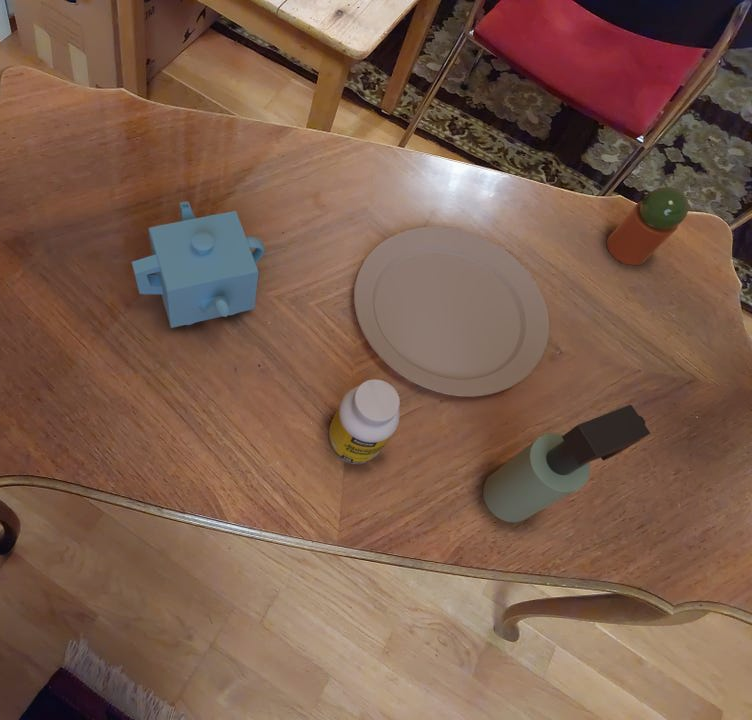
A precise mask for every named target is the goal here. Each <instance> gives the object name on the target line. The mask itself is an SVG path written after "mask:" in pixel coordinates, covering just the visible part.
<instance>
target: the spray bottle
mask: <svg viewBox="0 0 752 720" xmlns="http://www.w3.org/2000/svg"><path fill="white" fill-rule="evenodd" d="M649 435H651V431H650V430H649V428H648V427H647V426H646V420H645V418H644V417H643V416H641V415H639V413H638V412H637V411H636V409H635V408H634V406H633V405H632V404H628V405H626V406H623V407H620V408H618V409H615V410H612V411H610V412H608V413H604V414H603V415H600V416H598V417H595V418H592V419H589V420H587V421H584V422H581V423H579V424H577V425H575V426H574V427H573V428H571V429H570V430H569V431H567V432H566V433H564V434H562V433H557V432H549V433H545V434H542V435H540V436H539V437H537V438H536V439H535V440H533V441H532V442H531V443H530V444H528V445H527V446H526V447H525V448H523V449H522V450H520V451H519V452H518V453H517V454H516V455H514V456H513V457H512V458H511V459H510V460H508V461H507V462H505V463H504V464H503V465H502V466H500V467H498V469H497V470H495V471H494V472H493V473H491V474H490V475H489V476H488V477H487V478H486V479H485V482H484V483H483V488H482V497H483V501H484V503H485V505H486V507H487V509H488V510H489V511H490V513H491V514H492V515H494V517H496V518H498V519H499V520H501V521H504V522H507V523H520V522H523V521H524V520H526V519H528V518H530V517H532V516H534V515H535V514H538V513H539V512H541V511H542V510H545V509H546V508H548V507H550V506H552V505H553V504H555V503H557V502H558V501H560V500H562V499H564V498H566V497H567V496H570V495H571V494H573V493H575V492H576V491H578V490H580V489H582V488H583V487H584V486H585V485H586V484H587V482H588V480H589V478H590V474H591V464H590V463H591V462H593V461H596V460H598V459H602V458H601V457H603V456H606V455H608V454H611V453H613V452H615V451H618V450H620V449H623V448H625V447H628V446H630V445H632V444H633V445H635V444H637V443H638V442H640V441H641V440H642V439H644V438H646V437H648V436H649ZM639 440H640V441H639ZM637 441H638V442H637ZM636 442H637V443H636ZM634 443H635V444H634ZM633 445H632V446H633ZM630 447H631V446H630ZM628 448H629V447H628Z"/></svg>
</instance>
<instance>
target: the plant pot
mask: <svg viewBox="0 0 752 720" xmlns="http://www.w3.org/2000/svg"><path fill="white" fill-rule="evenodd" d="M689 205H690V204H689V201H688V198H687V196H686V194H684V192H682V191H681V190H679V189H677V188H675V187H670V186H663V187H659V188H655V189H654V190H652V191H650V192H648V193H647V194H646V195H645V196H644V197H643V199H642V200H640V201H639V202H637V203H636V204H635V205H634V207H633V208H632V209H631V210H630V211H629V212H628V213H627V215H626V216H625V217H624V218H623V219H622V220H621V221H620V223H619V224H618V225H617V226H616V227H615V229H614V230H613V231H612V232H611V233H610V234H609V236H607V239H606V248H607V250H608V252H609V254H610V255H611V256H612V257H613V258H614V259H615V260H617V261H619V262H620V263H621V264H625V265H628V266H639V265H641V264H644V263H645V262H646V261H647V260H648V259H649V258H651V256H652V255H653V254H654V253H655V252H656V251H657V250H658V249H659V248H660V247H661V246H662V245H663V244H664V243H665V242H666V241H667V240H668V239H669V238H670V237H671V236H672V235H673V234H674V233H675V232H676V231H677V230H678V228H679V225H681V223H683V222H684V220H685V219H686V218H687V216H688V213H689V207H690V206H689Z"/></svg>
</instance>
